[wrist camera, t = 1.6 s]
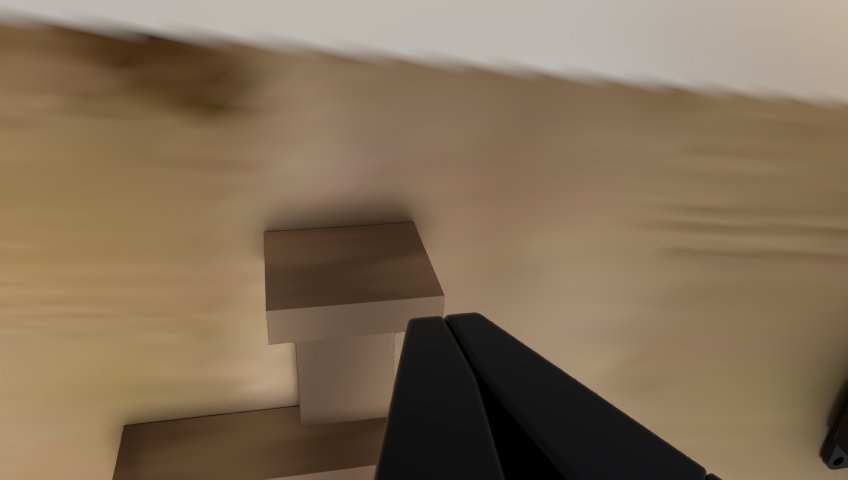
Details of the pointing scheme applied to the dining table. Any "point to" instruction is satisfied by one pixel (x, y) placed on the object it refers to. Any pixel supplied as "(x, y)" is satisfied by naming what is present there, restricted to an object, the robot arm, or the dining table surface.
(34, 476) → the dining table surface
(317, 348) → the tray
